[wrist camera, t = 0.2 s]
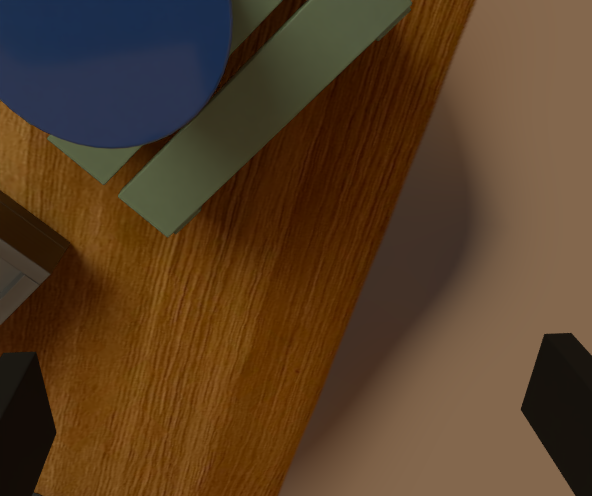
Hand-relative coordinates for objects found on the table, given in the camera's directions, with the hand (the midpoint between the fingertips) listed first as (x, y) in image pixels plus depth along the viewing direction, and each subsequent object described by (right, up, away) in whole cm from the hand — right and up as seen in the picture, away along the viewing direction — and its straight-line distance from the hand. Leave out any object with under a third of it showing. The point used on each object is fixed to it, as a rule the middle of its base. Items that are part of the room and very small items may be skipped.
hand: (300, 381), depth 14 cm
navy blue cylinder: (-6, +14, +8) cm, 17 cm away
